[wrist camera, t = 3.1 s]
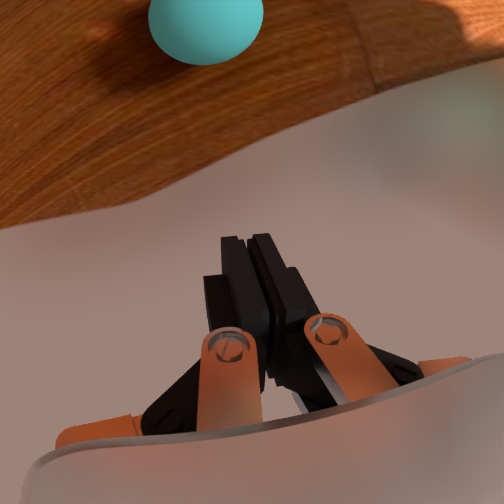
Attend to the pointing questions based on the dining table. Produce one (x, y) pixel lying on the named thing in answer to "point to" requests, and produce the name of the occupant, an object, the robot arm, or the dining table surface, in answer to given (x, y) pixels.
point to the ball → (204, 28)
